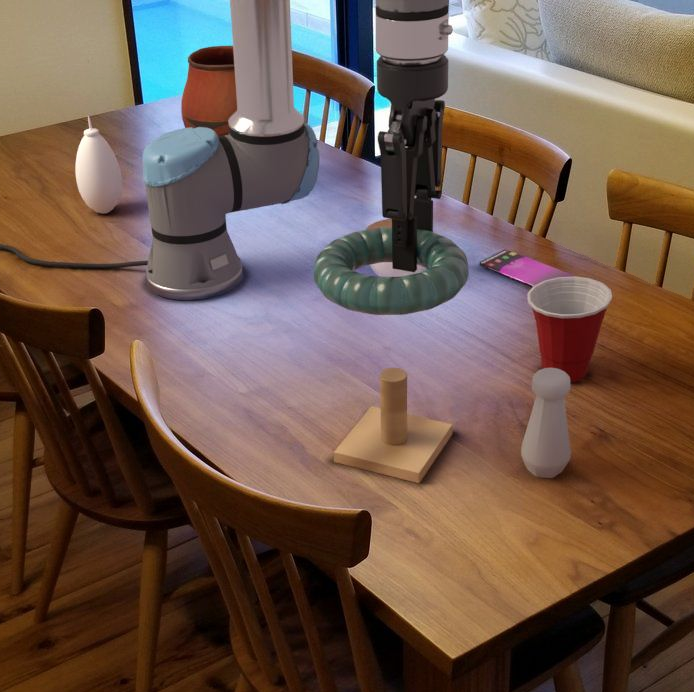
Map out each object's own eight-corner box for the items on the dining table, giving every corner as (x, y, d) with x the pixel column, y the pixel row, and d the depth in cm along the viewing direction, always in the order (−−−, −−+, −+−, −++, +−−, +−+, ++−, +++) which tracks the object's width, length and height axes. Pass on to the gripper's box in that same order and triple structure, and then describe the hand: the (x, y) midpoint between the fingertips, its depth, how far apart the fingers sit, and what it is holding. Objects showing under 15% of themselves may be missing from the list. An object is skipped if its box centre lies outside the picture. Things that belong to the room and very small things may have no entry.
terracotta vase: (248, 212, 195) (236, 74, 182) (168, 193, 204) (151, 60, 191) (308, 178, 208) (301, 48, 195) (230, 162, 217) (219, 36, 204)
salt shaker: (533, 448, 130) (540, 355, 123) (577, 463, 127) (586, 369, 120) (511, 472, 126) (516, 378, 119) (555, 488, 123) (564, 392, 116)
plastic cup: (514, 355, 149) (519, 277, 142) (591, 349, 149) (599, 271, 143) (532, 396, 140) (537, 315, 133) (613, 390, 140) (623, 309, 134)
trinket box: (427, 293, 165) (428, 237, 160) (359, 289, 167) (358, 233, 162) (437, 263, 174) (437, 209, 169) (372, 259, 176) (371, 206, 171)
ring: (287, 305, 116) (285, 272, 114) (354, 244, 129) (353, 213, 127) (433, 333, 110) (434, 298, 108) (489, 266, 123) (490, 233, 120)
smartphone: (506, 253, 176) (506, 248, 176) (582, 280, 167) (582, 275, 167) (477, 267, 172) (478, 262, 172) (554, 296, 163) (554, 291, 163)
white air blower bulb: (73, 214, 197) (56, 118, 187) (105, 200, 202) (89, 106, 192) (103, 223, 193) (87, 125, 183) (134, 208, 198) (120, 112, 188)
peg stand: (334, 462, 129) (330, 387, 123) (371, 415, 137) (369, 344, 131) (419, 483, 125) (419, 407, 119) (452, 434, 133) (454, 361, 127)
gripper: (414, 81, 104) (414, 297, 116) (474, 38, 117) (468, 237, 129) (344, 74, 106) (351, 286, 119) (410, 33, 120) (411, 228, 132)
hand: (412, 260), depth 124 cm, fingers closed on ring, 4 cm apart
